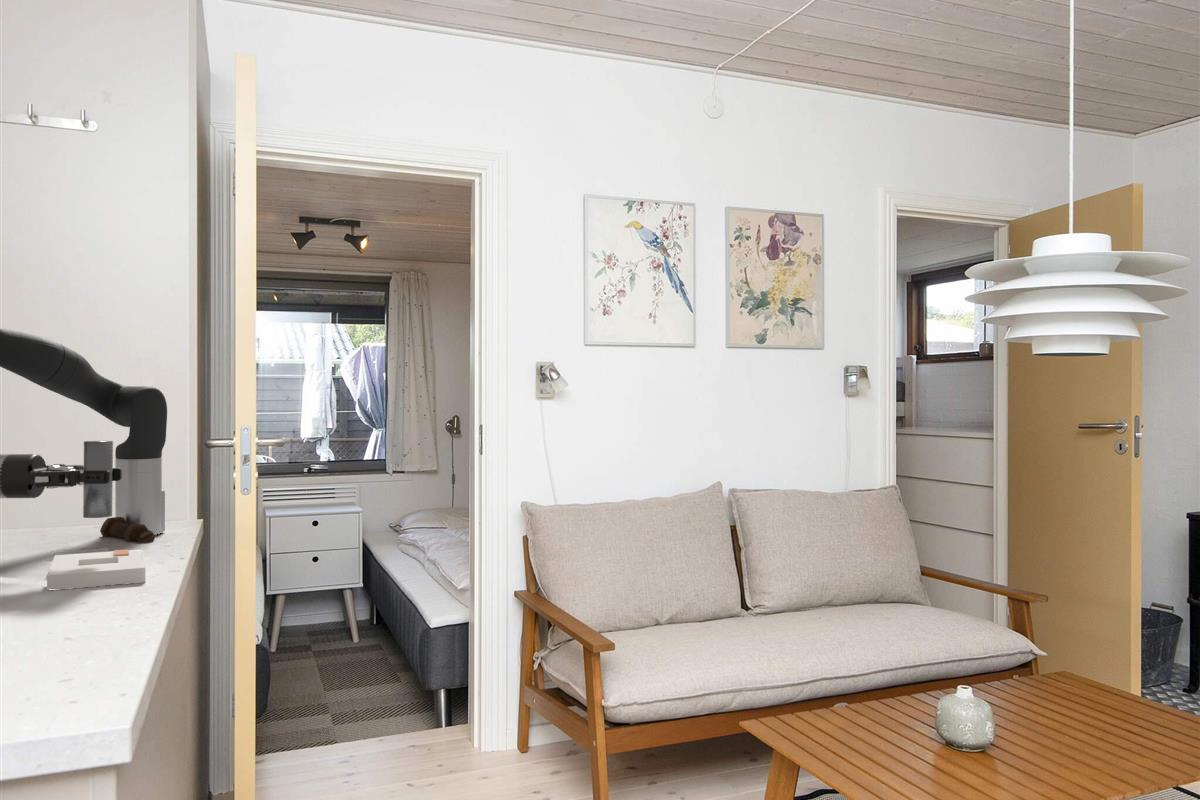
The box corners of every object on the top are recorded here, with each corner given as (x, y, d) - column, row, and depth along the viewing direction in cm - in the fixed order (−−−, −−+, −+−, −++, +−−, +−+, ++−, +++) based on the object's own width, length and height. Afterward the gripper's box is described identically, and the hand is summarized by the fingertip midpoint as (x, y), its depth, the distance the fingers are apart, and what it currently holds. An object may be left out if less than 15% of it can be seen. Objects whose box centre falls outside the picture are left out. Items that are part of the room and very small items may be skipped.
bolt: (143, 556, 182) (109, 546, 191) (165, 542, 185) (130, 532, 194) (130, 534, 179) (95, 525, 188) (151, 519, 183) (117, 511, 192)
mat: (49, 557, 170) (49, 552, 170) (109, 553, 175) (109, 547, 175) (46, 566, 162) (46, 560, 162) (108, 561, 166) (108, 556, 166)
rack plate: (54, 569, 159) (54, 553, 159) (142, 562, 166) (142, 547, 166) (46, 591, 141) (46, 573, 141) (145, 582, 148) (145, 565, 148)
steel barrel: (98, 514, 156) (98, 440, 156) (118, 515, 155) (118, 441, 155) (76, 517, 152) (77, 441, 152) (97, 518, 151) (98, 442, 150)
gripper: (-14, 457, 144) (98, 456, 147) (29, 451, 158) (131, 451, 161) (-15, 503, 144) (98, 502, 147) (28, 493, 158) (130, 492, 161)
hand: (114, 475), depth 154 cm, fingers closed on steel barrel, 4 cm apart
